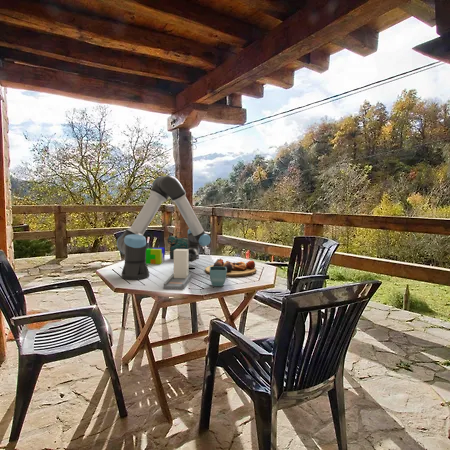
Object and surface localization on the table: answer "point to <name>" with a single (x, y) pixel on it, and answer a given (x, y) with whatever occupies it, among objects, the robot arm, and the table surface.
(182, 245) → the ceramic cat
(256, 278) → the table surface
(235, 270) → the wooden plate with food
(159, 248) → the puzzle toy
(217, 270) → the flower pot
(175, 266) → the cream block
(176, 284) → the grey chute
